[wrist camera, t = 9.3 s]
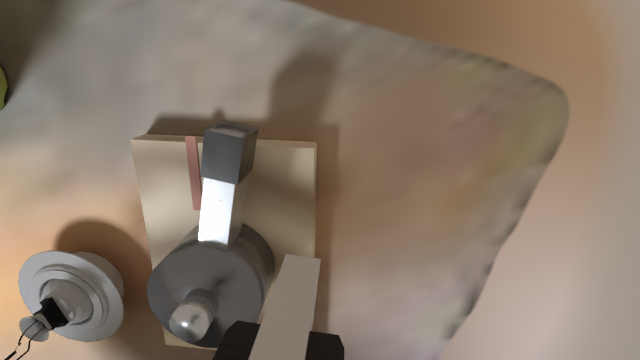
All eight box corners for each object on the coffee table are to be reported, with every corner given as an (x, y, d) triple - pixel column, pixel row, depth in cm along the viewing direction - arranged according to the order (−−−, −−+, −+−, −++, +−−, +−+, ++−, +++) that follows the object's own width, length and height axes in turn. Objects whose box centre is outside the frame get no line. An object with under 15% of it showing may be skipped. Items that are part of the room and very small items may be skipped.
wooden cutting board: (313, 343, 33) (310, 361, 31) (176, 329, 35) (165, 345, 33) (317, 135, 26) (314, 141, 24) (144, 127, 28) (128, 133, 26)
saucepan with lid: (267, 311, 30) (240, 386, 23) (178, 289, 30) (126, 357, 23) (301, 133, 24) (278, 163, 17) (191, 108, 24) (127, 128, 18)
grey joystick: (-152, 350, 22) (-53, 455, 25) (-37, 322, 20) (57, 440, 23) (24, 248, 33) (78, 328, 36) (109, 224, 31) (158, 311, 34)
